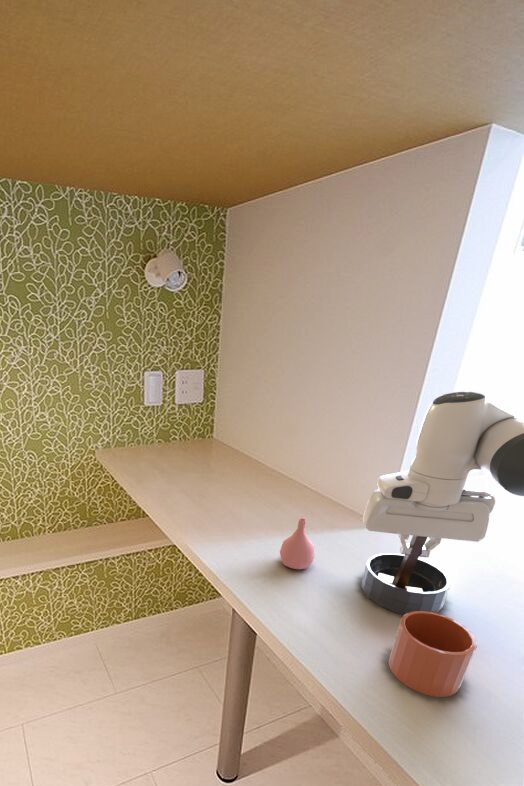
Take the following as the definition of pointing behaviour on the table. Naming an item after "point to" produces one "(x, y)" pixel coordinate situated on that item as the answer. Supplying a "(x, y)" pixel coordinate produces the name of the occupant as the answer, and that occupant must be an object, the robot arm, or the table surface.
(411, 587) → the mustard block
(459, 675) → the holder
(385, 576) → the maple block
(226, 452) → the table surface
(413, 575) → the bowl
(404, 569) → the stirring stick
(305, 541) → the pink teardrop shaped piece
